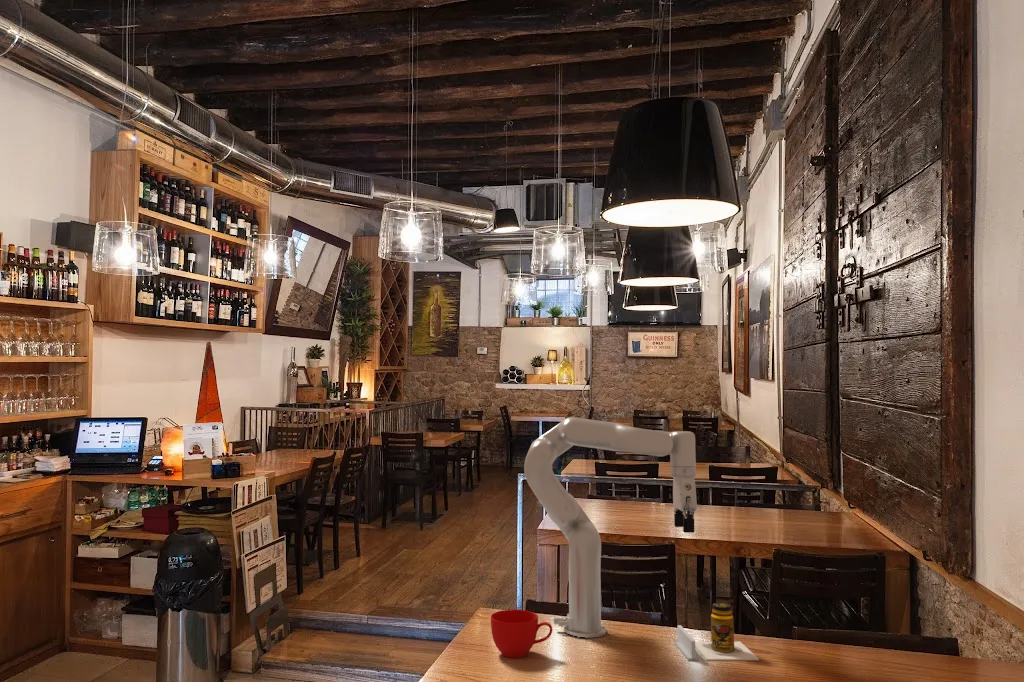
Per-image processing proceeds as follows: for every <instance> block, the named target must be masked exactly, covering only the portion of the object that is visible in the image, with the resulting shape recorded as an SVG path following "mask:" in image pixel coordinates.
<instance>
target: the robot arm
mask: <svg viewBox="0 0 1024 682" xmlns="http://www.w3.org/2000/svg"><path fill="white" fill-rule="evenodd" d="M573 446H576V447H584V448H592V449H598V450H603V451H604V450H605V451H610V452H611V451H612V452H622V453H623V452H625V453H631V454H640V455H647V456H654V457H665V456H668V455H669V457H670V458H669V460H670V461H669V462H670V463H669V464H670V478H673V480H672V503H673V507H674V510H673V513H674V514H673V515H674V517H673V518H674V522H673V523H674V525H673V526H674V527H675V528H682V529H683V530H682V531H683V533H687V534H688V533H689V534H690V533H695V512H697V510H698V503H697V488H696V481H695V478H696V477H697V465H696V463H697V459H696V457H697V455H696V435H695V433H694V432H692V431H686V430H684V431H683V430H678V431H676V430H675V431H663V430H659V429H658V430H657V429H655V430H653V429H647V428H640V427H633V426H629V425H625V424H621V423H616V422H612V421H603V420H597V419H596V420H595V419H588V418H582V417H581V418H580V417H575V416H574V417H573V416H569V417H566V418H565V419H562V420H561V421H560V422H559V423H558V424H556V425H555V426H554V427H552V428H551V429H549V430H548V431H546V432H545V433H544V434H542V435H541V436H539V437H538V438H536V439H535V440H534V441H533V442H532V443H531V445H530V447H529V449H528V451H527V454H526V456H525V459H524V467H523V471H524V476H525V477H524V478H525V480H526V482H527V484H528V487H529V488H530V489H531V491H532V492H533V494H534V496H535V497H536V499H537V500H538V501H539V503H540V504H541V506H542V507H543V508H544V510H545V512H546V513H547V515H548V517H549V519H550V520H551V521H552V522H553V523H554V524H556V525H557V527H558V528H559V530H560V532H561V533H562V534H563V536H564V537H565V538H566V539H567V541H568V613H566V616H564V617H553V625H558V627H563V631H565V632H566V633H568V634H570V635H574V636H577V637H576V638H580V637H585V638H584V639H594V637H595V638H599V637H602V636H604V635H605V634H607V628H606V626H605V625H603V624H602V604H601V603H602V602H601V601H602V600H601V599H602V598H601V597H602V594H601V593H602V591H601V590H602V588H601V586H602V585H601V583H602V582H601V563H602V562H601V560H602V559H601V558H602V540H601V536H600V533H599V531H598V529H597V528H596V526H595V524H594V523H593V521H592V520H591V519H590V517H589V516H588V515H587V514H586V512H585V511H584V510H583V508H582V506H581V505H580V504H579V503H578V501H577V499H576V498H575V497H574V496H573V495H572V494H571V493H569V492H568V491H567V490H566V489H565V487H564V486H563V484H562V483H561V481H560V479H558V477H557V476H556V474H555V473H554V470H553V465H554V462H555V460H556V459H557V458H558V457H560V456H561V455H563V454H564V453H565V452H566V451H568V450H570V449H571V448H572V447H573ZM565 632H564V633H565ZM566 633H565V634H566ZM568 634H567V635H568ZM570 635H569V636H570ZM574 636H573V637H574Z"/></svg>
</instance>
